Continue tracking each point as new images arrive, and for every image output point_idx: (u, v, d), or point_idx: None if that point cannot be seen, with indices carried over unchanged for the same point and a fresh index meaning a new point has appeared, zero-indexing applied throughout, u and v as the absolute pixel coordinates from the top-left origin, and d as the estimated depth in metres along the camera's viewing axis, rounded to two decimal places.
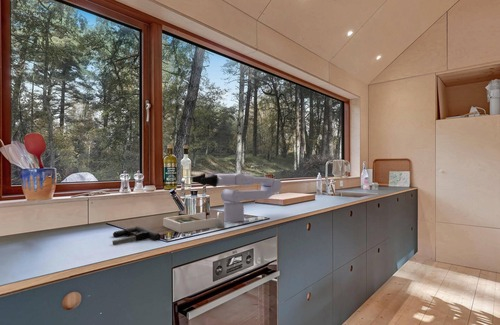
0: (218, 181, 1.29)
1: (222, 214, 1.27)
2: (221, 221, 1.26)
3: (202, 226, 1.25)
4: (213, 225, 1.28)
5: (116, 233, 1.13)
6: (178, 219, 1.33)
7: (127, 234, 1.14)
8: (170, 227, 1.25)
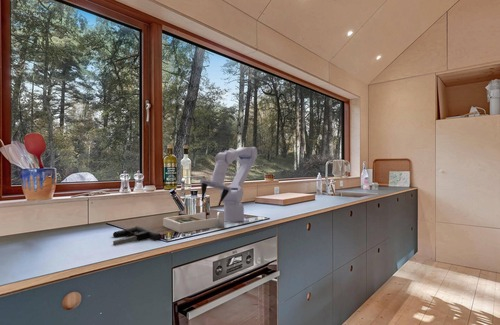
0: (229, 192, 1.30)
1: (222, 214, 1.27)
2: (221, 221, 1.26)
3: (202, 226, 1.25)
4: (213, 225, 1.28)
5: (116, 233, 1.13)
6: (178, 219, 1.33)
7: (127, 234, 1.14)
8: (170, 227, 1.25)
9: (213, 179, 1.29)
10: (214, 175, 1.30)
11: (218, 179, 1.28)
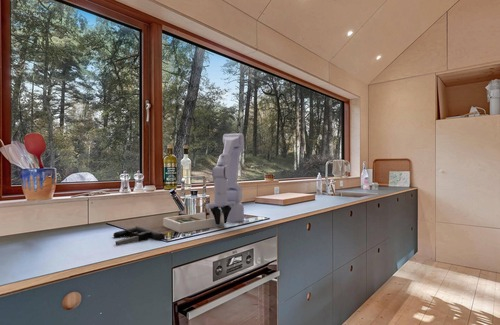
0: None
1: (222, 214, 1.27)
2: (221, 221, 1.26)
3: (202, 226, 1.25)
4: (213, 225, 1.28)
5: (117, 234, 1.12)
6: (178, 219, 1.33)
7: (128, 234, 1.13)
8: (170, 227, 1.25)
9: (219, 201, 1.25)
10: (219, 196, 1.25)
11: (224, 200, 1.26)
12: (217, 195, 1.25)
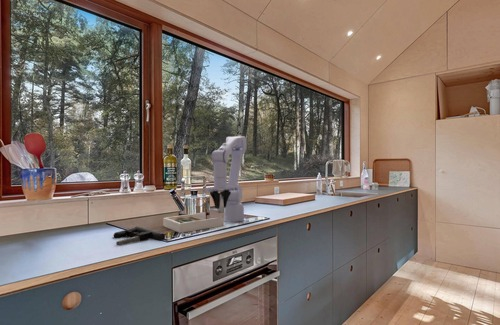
0: None
1: (222, 198, 1.27)
2: (221, 205, 1.26)
3: (202, 226, 1.25)
4: (213, 225, 1.28)
5: (117, 234, 1.12)
6: (178, 219, 1.33)
7: (128, 235, 1.13)
8: (170, 227, 1.25)
9: (219, 185, 1.25)
10: (219, 180, 1.25)
11: (224, 184, 1.26)
12: (216, 179, 1.25)
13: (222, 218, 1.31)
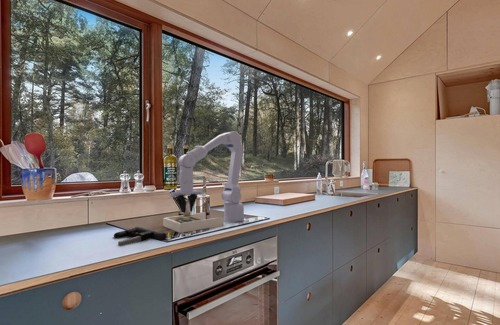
0: None
1: (188, 202, 1.28)
2: (187, 209, 1.28)
3: (202, 226, 1.25)
4: (213, 225, 1.28)
5: (118, 234, 1.11)
6: (178, 219, 1.33)
7: (129, 235, 1.13)
8: (170, 227, 1.25)
9: (185, 189, 1.27)
10: (184, 185, 1.27)
11: (190, 188, 1.27)
12: (182, 183, 1.27)
13: (222, 218, 1.31)
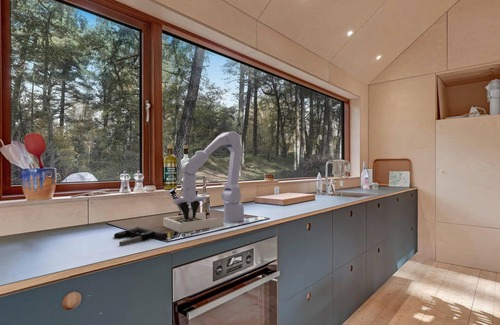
0: None
1: (191, 209, 1.29)
2: (190, 216, 1.29)
3: (202, 226, 1.25)
4: (213, 225, 1.28)
5: (118, 234, 1.11)
6: (179, 219, 1.34)
7: (129, 235, 1.13)
8: (170, 227, 1.25)
9: (187, 196, 1.27)
10: (187, 192, 1.27)
11: (193, 195, 1.28)
12: (185, 190, 1.28)
13: (222, 218, 1.31)
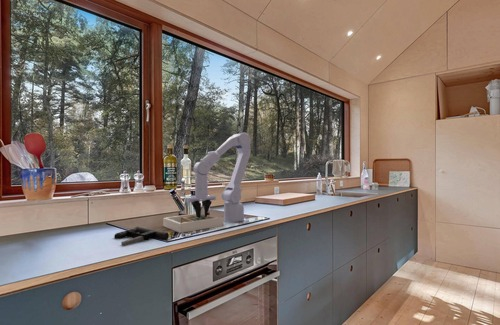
0: None
1: (203, 208, 1.33)
2: (202, 214, 1.33)
3: (202, 226, 1.25)
4: (213, 225, 1.28)
5: (119, 234, 1.11)
6: (191, 217, 1.38)
7: (130, 235, 1.12)
8: (170, 227, 1.25)
9: (200, 195, 1.31)
10: (199, 191, 1.31)
11: (205, 194, 1.32)
12: (197, 189, 1.32)
13: (222, 218, 1.31)
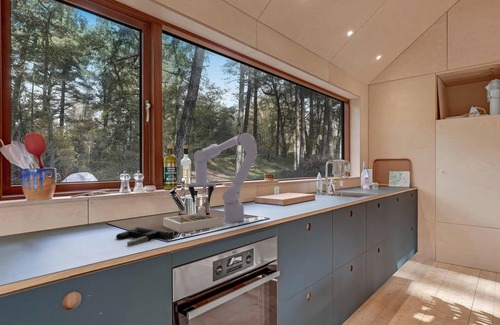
0: (214, 186, 1.48)
1: (203, 208, 1.33)
2: (202, 215, 1.33)
3: (202, 226, 1.25)
4: (213, 225, 1.28)
5: (121, 235, 1.10)
6: (191, 217, 1.38)
7: (132, 235, 1.12)
8: (170, 227, 1.25)
9: (198, 181, 1.43)
10: (197, 177, 1.43)
11: (202, 181, 1.43)
12: (196, 176, 1.43)
13: (222, 218, 1.31)
